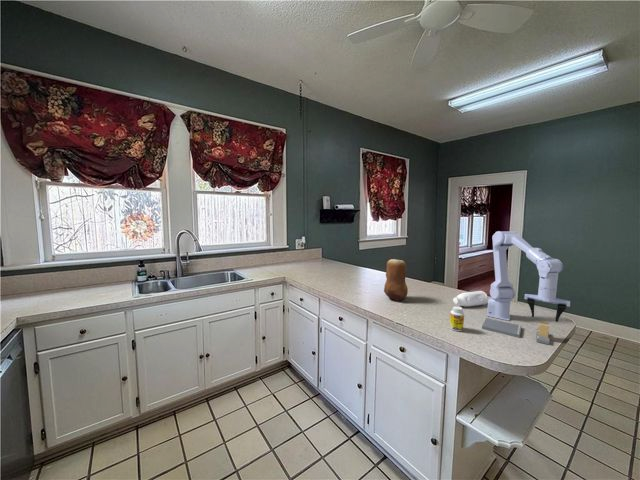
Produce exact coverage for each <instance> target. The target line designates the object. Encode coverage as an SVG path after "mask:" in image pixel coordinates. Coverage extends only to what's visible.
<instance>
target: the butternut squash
mask: <svg viewBox="0 0 640 480" xmlns="http://www.w3.org/2000/svg"><path fill="white" fill-rule="evenodd" d="M406 276H407V265H406V261H404V260H402V259H401V260H400V259H396V258H393V259H392V258H391V259H389V260H388V261H387V262H386V273H385V278H386V280H385V284H384V287H383V289H384V290H383V292H384V294H385V295H386V296H387V297H388V298H389V299H392V300H394V301H401V300H404V299H406V297H407V296H408V293H409V291H408V290H409V289H408V288H409V287H408V286H407V282H406Z"/></svg>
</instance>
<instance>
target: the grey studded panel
mask: <svg viewBox="0 0 640 480" xmlns="http://www.w3.org/2000/svg"><path fill="white" fill-rule="evenodd" d="M481 329H483V330H486V331H490V332H494V333H497V334H498V333H499V334H502V335H506V336H511V337H514V338H519V339H520V338H521V332H522V325H520V324H515V323H510V322H506V321H502V320H497V319H492V318H489V317H486V318H485V319H484V321H483V323H482V326H481Z"/></svg>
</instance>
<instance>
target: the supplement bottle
mask: <svg viewBox="0 0 640 480" xmlns="http://www.w3.org/2000/svg"><path fill="white" fill-rule="evenodd" d="M449 315H450V317H449V318H450V319H449V328H450V329H451V330H452V331H454V332H463V330H464V326H465V325H464V322H465V313H464V312H463V307H462V306H457V305H456V306H453V307H452V310H450V314H449Z"/></svg>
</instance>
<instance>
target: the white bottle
mask: <svg viewBox="0 0 640 480" xmlns="http://www.w3.org/2000/svg"><path fill="white" fill-rule="evenodd" d="M488 300H489V298H488V295H487V293H486V292H484V291H483V290H477V291H475V290H474V291H468V292H462V293H460V294H457V296H456V297H453V298H452V301H453V303H454V304H455V305H456V306H457V307H465V308H468V307H469V308H470V307H476V306H485V305H487V304H488Z"/></svg>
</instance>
